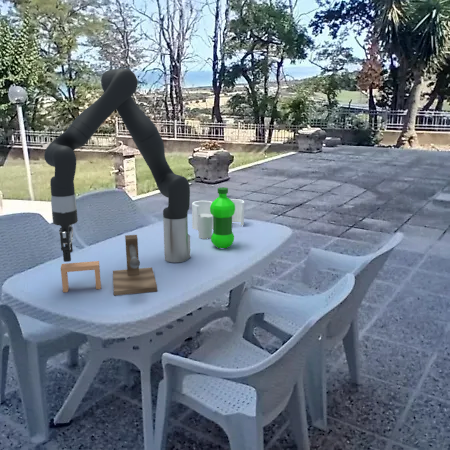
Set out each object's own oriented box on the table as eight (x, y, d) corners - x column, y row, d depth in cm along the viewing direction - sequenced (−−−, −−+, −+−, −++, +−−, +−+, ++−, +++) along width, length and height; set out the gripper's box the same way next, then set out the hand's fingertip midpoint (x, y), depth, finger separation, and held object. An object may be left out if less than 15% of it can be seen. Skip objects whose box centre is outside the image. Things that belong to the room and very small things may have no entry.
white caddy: (240, 222, 237) (240, 198, 233) (246, 227, 227) (246, 202, 224) (190, 225, 230) (190, 201, 227) (194, 231, 221) (194, 206, 218)
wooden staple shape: (100, 284, 163) (99, 260, 160) (100, 289, 159) (98, 265, 157) (64, 287, 160) (61, 263, 158) (63, 292, 156) (60, 268, 154)
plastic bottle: (235, 243, 205) (236, 186, 198) (233, 251, 195) (234, 191, 188) (212, 242, 206) (212, 185, 199) (209, 250, 196) (208, 191, 189)
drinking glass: (210, 240, 209) (210, 218, 206) (196, 239, 210) (195, 217, 207) (214, 235, 215) (214, 214, 212) (199, 234, 216) (199, 213, 214)
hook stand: (113, 274, 171) (110, 234, 167) (152, 271, 174) (150, 232, 170) (114, 302, 149) (111, 257, 145) (159, 298, 152) (157, 254, 148)
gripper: (54, 203, 157) (58, 250, 161) (49, 214, 143) (54, 265, 148) (77, 202, 158) (81, 249, 163) (75, 213, 145) (79, 263, 150)
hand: (68, 256), depth 155 cm, fingers open, 8 cm apart
